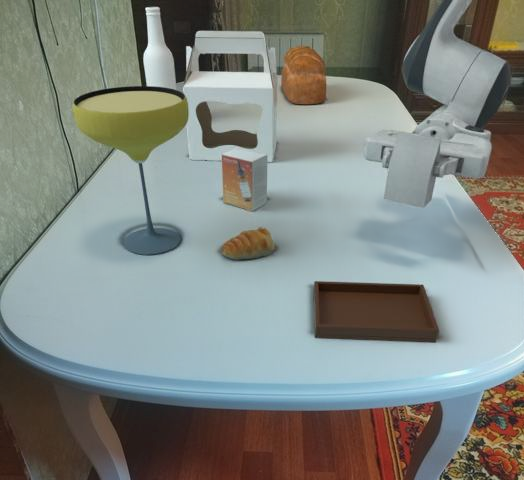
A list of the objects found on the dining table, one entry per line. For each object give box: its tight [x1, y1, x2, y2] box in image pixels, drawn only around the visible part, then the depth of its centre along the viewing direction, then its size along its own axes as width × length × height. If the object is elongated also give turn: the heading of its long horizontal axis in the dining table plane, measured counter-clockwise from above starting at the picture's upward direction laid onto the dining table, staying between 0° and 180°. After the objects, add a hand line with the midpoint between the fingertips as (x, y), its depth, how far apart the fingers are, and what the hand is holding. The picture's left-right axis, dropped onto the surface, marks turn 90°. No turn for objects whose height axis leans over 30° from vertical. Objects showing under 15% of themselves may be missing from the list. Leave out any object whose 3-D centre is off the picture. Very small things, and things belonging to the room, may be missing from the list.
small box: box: [221, 148, 268, 212], centre depth 107 cm, size 8×6×10 cm
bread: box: [280, 45, 327, 105], centre depth 180 cm, size 14×26×16 cm, turn 5°
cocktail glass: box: [72, 85, 189, 256], centre depth 88 cm, size 18×18×25 cm
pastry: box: [221, 226, 276, 261], centre depth 92 cm, size 9×7×4 cm
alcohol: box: [142, 6, 178, 90], centre depth 150 cm, size 9×9×30 cm
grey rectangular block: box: [383, 132, 441, 209], centre depth 80 cm, size 4×7×10 cm, turn 56°
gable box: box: [182, 30, 278, 163], centre depth 127 cm, size 22×13×28 cm, turn 85°
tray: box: [313, 280, 440, 343], centre depth 76 cm, size 17×12×2 cm
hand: (412, 167), depth 79 cm, fingers closed on grey rectangular block, 7 cm apart
